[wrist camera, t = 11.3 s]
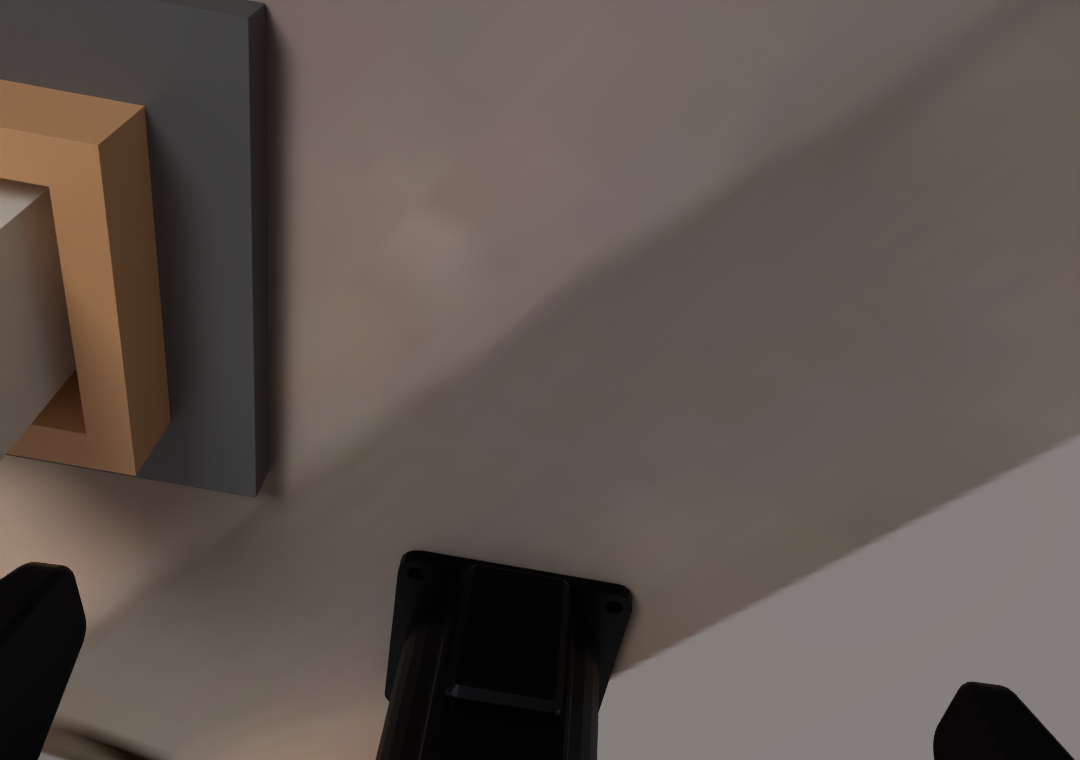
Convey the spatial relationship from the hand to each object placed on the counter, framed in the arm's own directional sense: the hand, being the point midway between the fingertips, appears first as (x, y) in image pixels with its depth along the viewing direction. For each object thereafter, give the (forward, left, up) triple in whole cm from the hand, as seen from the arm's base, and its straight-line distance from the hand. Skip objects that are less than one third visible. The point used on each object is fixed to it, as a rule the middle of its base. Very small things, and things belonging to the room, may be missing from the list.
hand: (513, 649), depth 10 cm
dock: (-4, +12, -12) cm, 18 cm away
